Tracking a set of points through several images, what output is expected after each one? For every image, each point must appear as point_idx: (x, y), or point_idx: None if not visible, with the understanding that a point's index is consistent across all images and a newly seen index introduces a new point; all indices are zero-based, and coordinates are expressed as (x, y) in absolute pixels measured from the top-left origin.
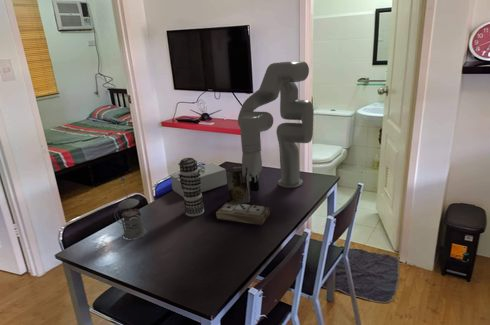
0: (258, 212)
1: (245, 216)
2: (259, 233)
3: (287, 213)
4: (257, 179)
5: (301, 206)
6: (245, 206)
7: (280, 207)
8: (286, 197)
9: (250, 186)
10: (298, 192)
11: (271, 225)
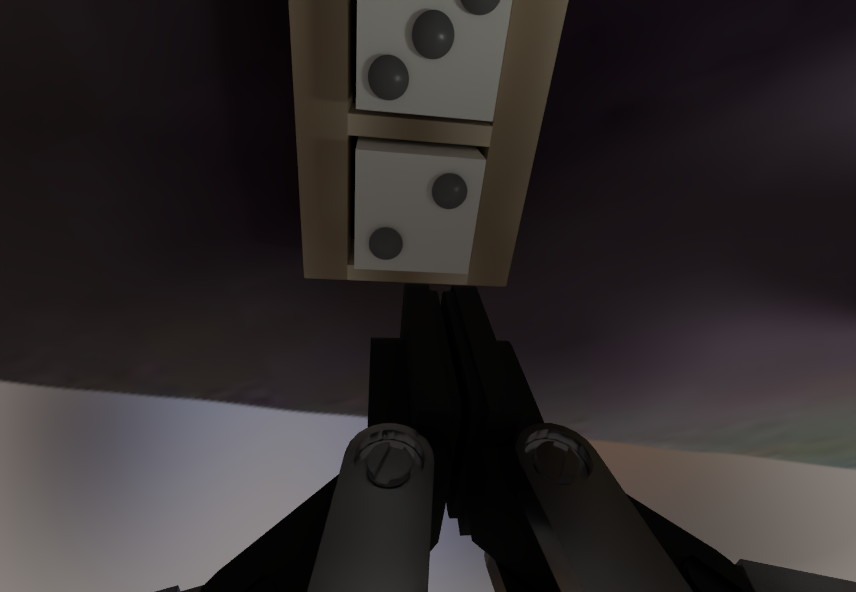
0: (354, 252)
1: (296, 122)
2: (193, 271)
3: None
4: (488, 567)
5: (606, 403)
6: (447, 74)
7: (599, 300)
8: (759, 298)
9: (409, 337)
10: (819, 349)
11: (330, 313)
